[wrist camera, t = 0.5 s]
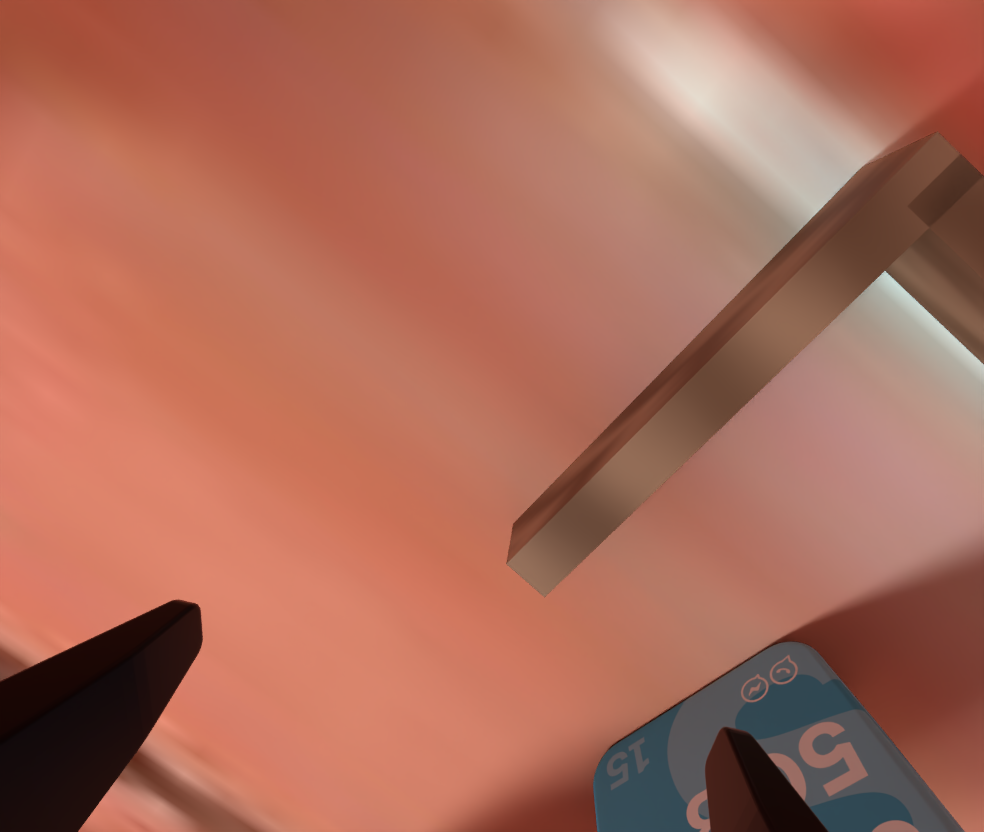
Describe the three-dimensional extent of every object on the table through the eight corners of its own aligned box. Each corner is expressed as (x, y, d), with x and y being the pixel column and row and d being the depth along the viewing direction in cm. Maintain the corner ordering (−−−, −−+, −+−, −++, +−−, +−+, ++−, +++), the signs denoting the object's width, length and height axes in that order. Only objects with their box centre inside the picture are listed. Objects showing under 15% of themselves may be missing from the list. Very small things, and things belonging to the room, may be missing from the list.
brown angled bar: (898, 862, 25) (961, 962, 22) (513, 523, 24) (506, 563, 20) (1304, 592, 21) (1475, 654, 17) (862, 167, 20) (937, 131, 16)
